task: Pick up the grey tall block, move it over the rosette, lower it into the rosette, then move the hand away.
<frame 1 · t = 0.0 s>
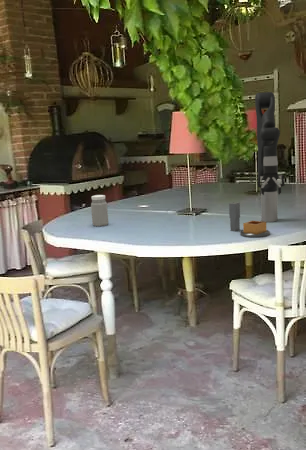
hand: (271, 194, 291), 17 cm above the table, tool pointing down, fingers open, 8 cm apart
jar: (100, 225, 324), on the table
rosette: (255, 234, 274), on the table
grey tall block: (235, 230, 286), on the table
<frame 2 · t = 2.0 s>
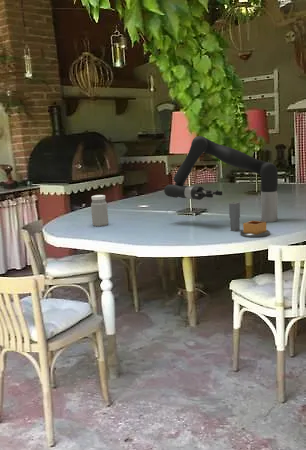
hand: (217, 194, 290), 19 cm above the table, tool horizontal, fingers open, 8 cm apart
nothing on the table moved.
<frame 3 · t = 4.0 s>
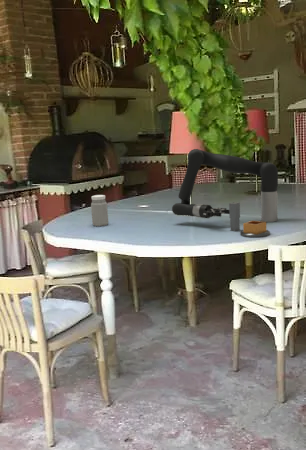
hand: (225, 213, 289), 9 cm above the table, tool horizontal, fingers open, 8 cm apart
nothing on the table moved.
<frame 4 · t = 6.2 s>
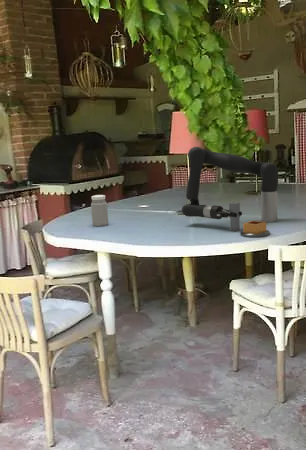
hand: (239, 214, 283), 9 cm above the table, tool horizontal, fingers closed on grey tall block, 4 cm apart
grey tall block: (235, 230, 287), on the table, touching gripper
everything else where it was.
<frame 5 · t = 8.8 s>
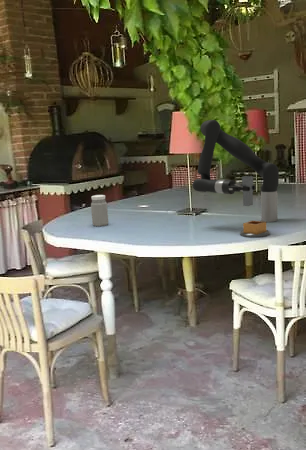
hand: (252, 188, 271), 24 cm above the table, tool horizontal, fingers closed on grey tall block, 4 cm apart
grey tall block: (248, 205, 275), point 15 cm above the table, touching gripper
everything else where it was.
when the fingers open (12 cm above the table, at t = 11.7 s): grey tall block drops 1 cm, resting on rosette.
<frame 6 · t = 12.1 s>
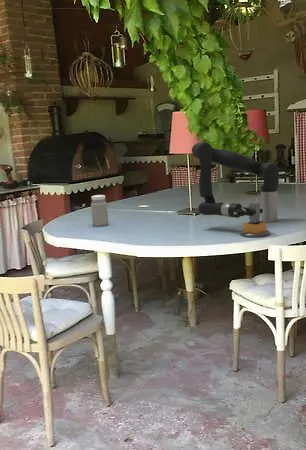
hand: (257, 212, 271), 12 cm above the table, tool horizontal, fingers open, 8 cm apart
grey tall block: (254, 232, 274), point 1 cm above the table, touching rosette
everything else where it was.
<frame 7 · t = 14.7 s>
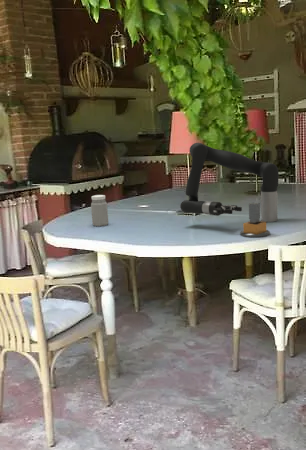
hand: (236, 210, 280), 12 cm above the table, tool horizontal, fingers open, 8 cm apart
nothing on the table moved.
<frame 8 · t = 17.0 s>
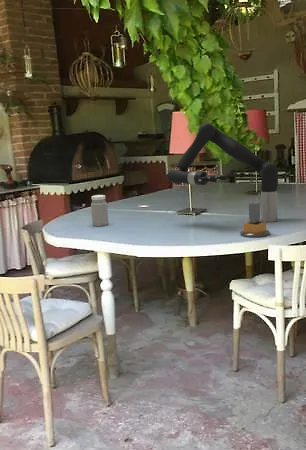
hand: (221, 179, 283), 28 cm above the table, tool horizontal, fingers open, 8 cm apart
nothing on the table moved.
at the end: grey tall block 0.1 cm off-centre on the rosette, point 1.2 cm above the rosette's base; grey tall block tilted 0°; the gripper is holding nothing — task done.
